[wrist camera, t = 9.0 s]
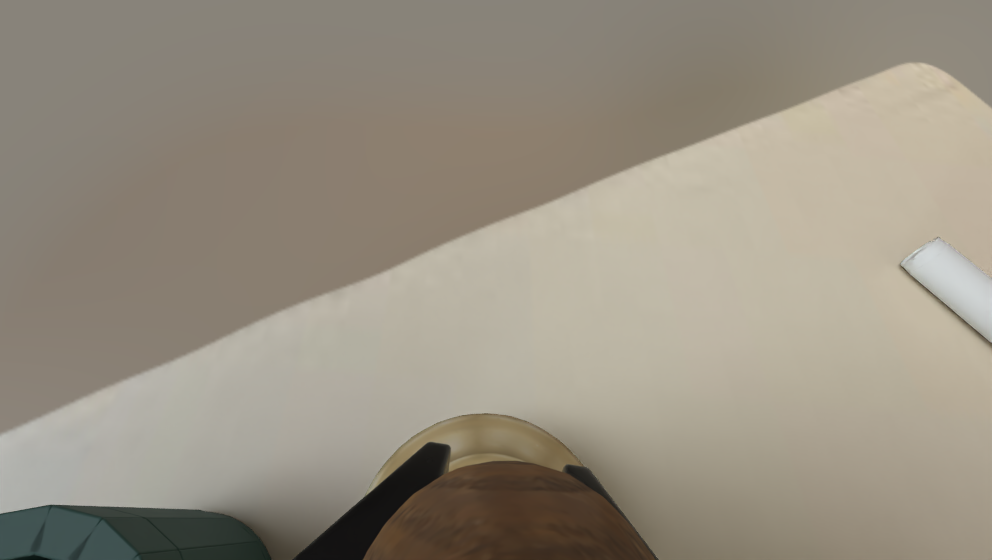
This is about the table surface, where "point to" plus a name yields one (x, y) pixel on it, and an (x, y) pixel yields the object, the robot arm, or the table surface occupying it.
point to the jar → (125, 535)
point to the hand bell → (501, 501)
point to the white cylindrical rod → (954, 282)
